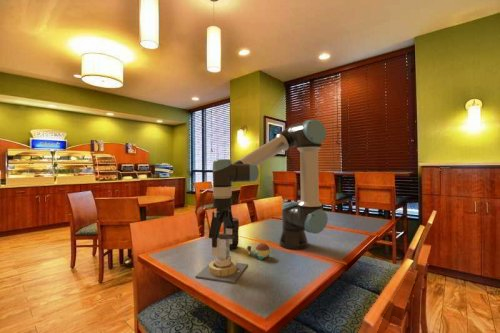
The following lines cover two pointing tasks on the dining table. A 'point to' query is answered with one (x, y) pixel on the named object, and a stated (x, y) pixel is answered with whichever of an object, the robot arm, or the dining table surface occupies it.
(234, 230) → the camera lens
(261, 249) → the figurine
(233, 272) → the mount
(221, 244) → the white pillar stand
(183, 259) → the dining table surface
